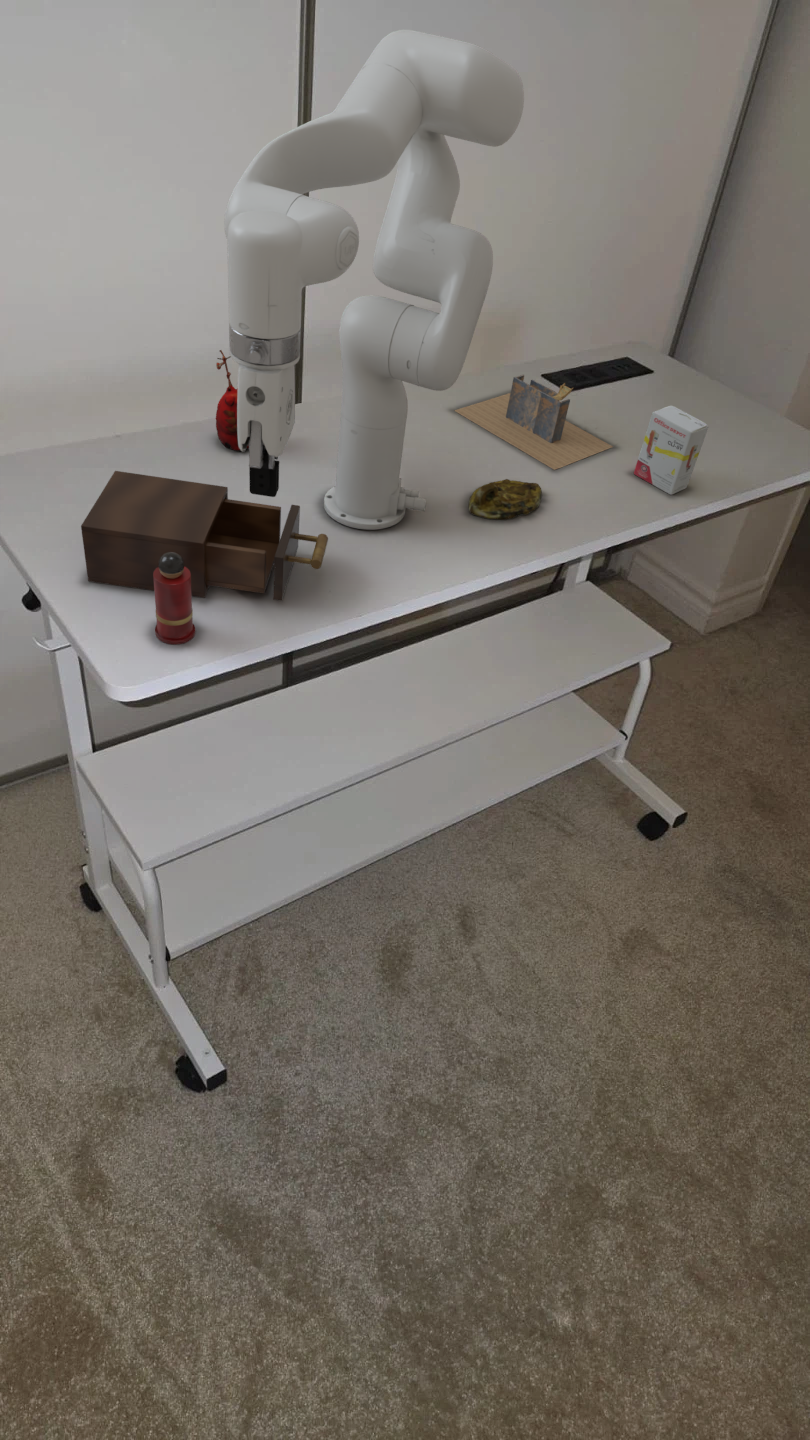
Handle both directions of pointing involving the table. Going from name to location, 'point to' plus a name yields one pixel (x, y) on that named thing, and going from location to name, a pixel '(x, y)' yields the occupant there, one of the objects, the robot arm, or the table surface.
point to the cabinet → (149, 529)
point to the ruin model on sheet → (535, 423)
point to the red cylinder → (173, 600)
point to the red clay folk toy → (227, 413)
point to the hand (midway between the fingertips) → (264, 491)
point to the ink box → (670, 449)
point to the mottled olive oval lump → (505, 499)
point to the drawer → (256, 547)
